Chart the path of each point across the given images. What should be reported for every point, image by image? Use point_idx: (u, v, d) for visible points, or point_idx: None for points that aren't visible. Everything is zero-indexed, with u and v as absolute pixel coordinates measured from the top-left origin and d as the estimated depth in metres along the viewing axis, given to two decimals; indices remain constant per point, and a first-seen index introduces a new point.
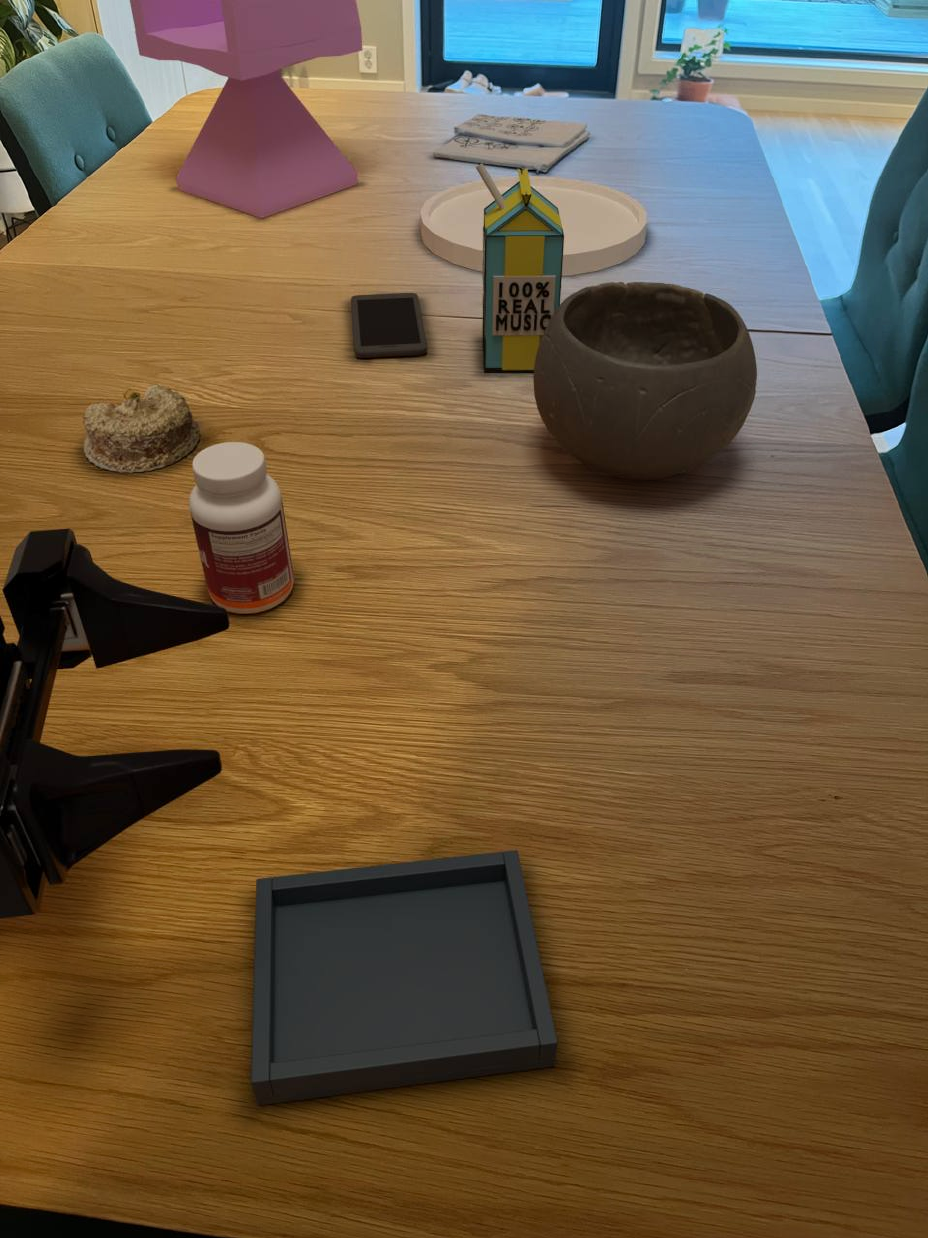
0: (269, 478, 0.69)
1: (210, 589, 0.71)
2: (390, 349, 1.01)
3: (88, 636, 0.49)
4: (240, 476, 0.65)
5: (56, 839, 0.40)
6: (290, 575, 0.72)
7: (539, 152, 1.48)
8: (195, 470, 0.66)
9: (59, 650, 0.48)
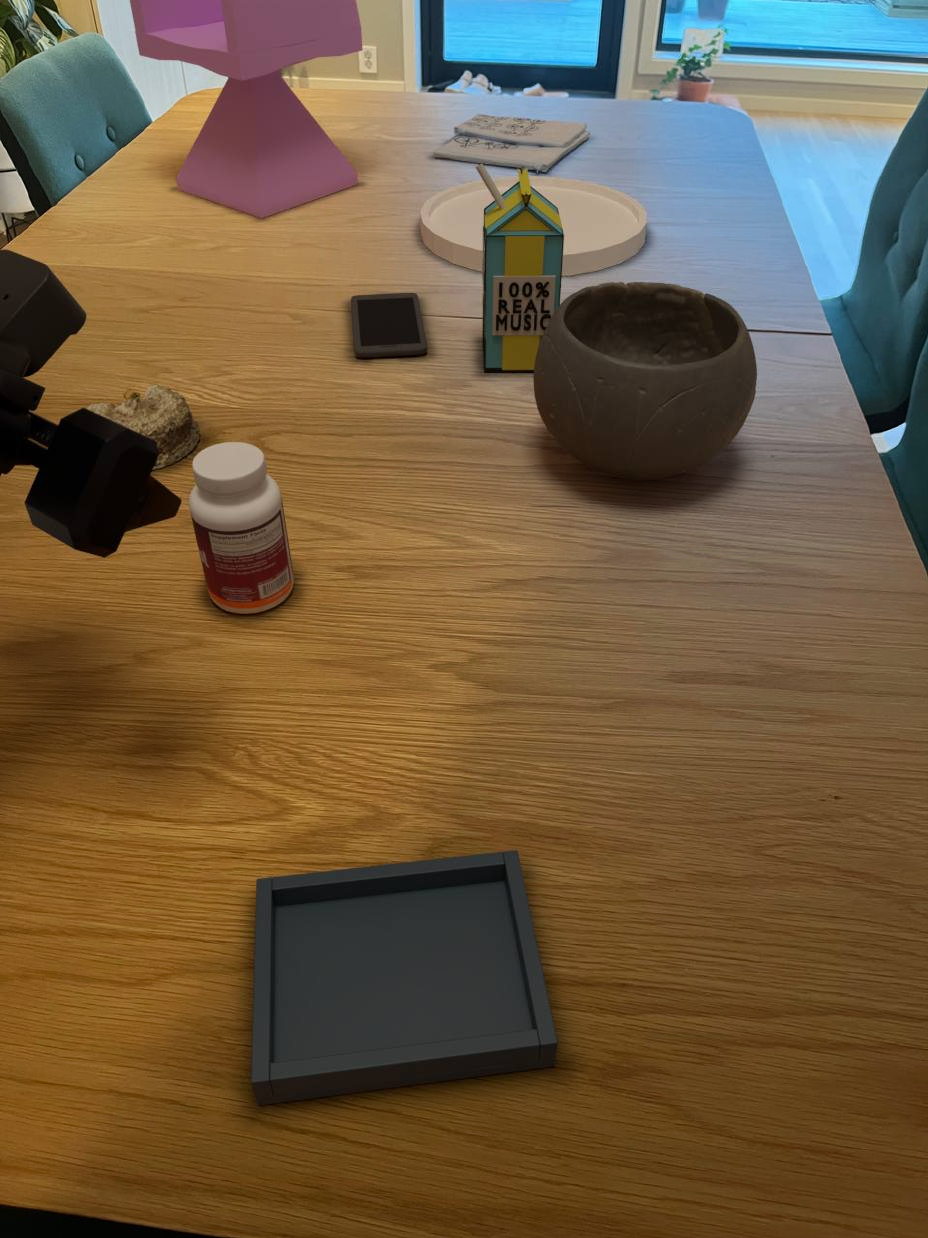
0: (269, 478, 0.69)
1: (210, 589, 0.71)
2: (390, 349, 1.01)
3: None
4: (240, 476, 0.65)
5: None
6: (290, 575, 0.72)
7: (539, 152, 1.48)
8: (195, 470, 0.66)
9: None
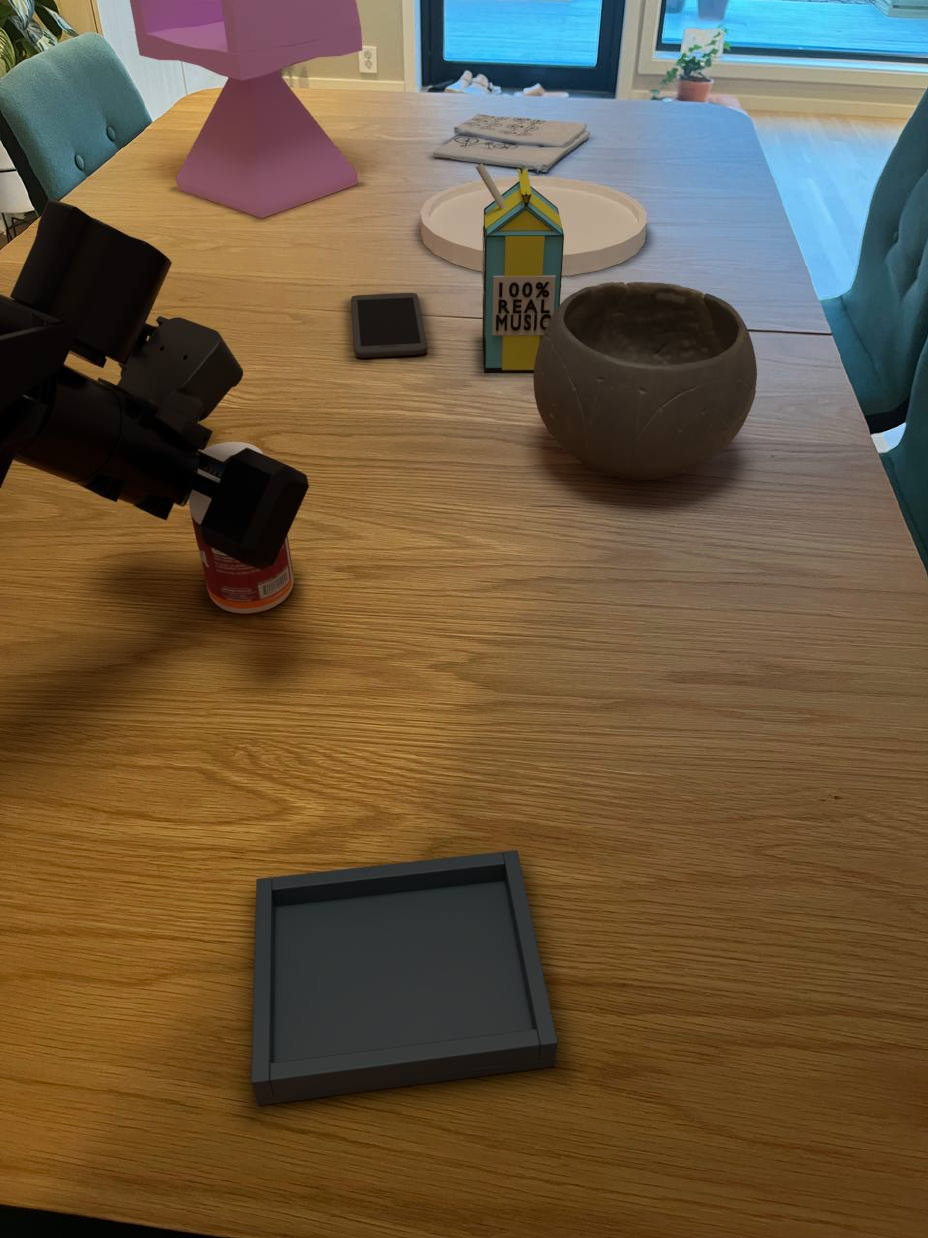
0: None
1: (210, 589, 0.71)
2: (390, 349, 1.01)
3: None
4: None
5: None
6: (290, 575, 0.72)
7: (539, 152, 1.48)
8: None
9: None
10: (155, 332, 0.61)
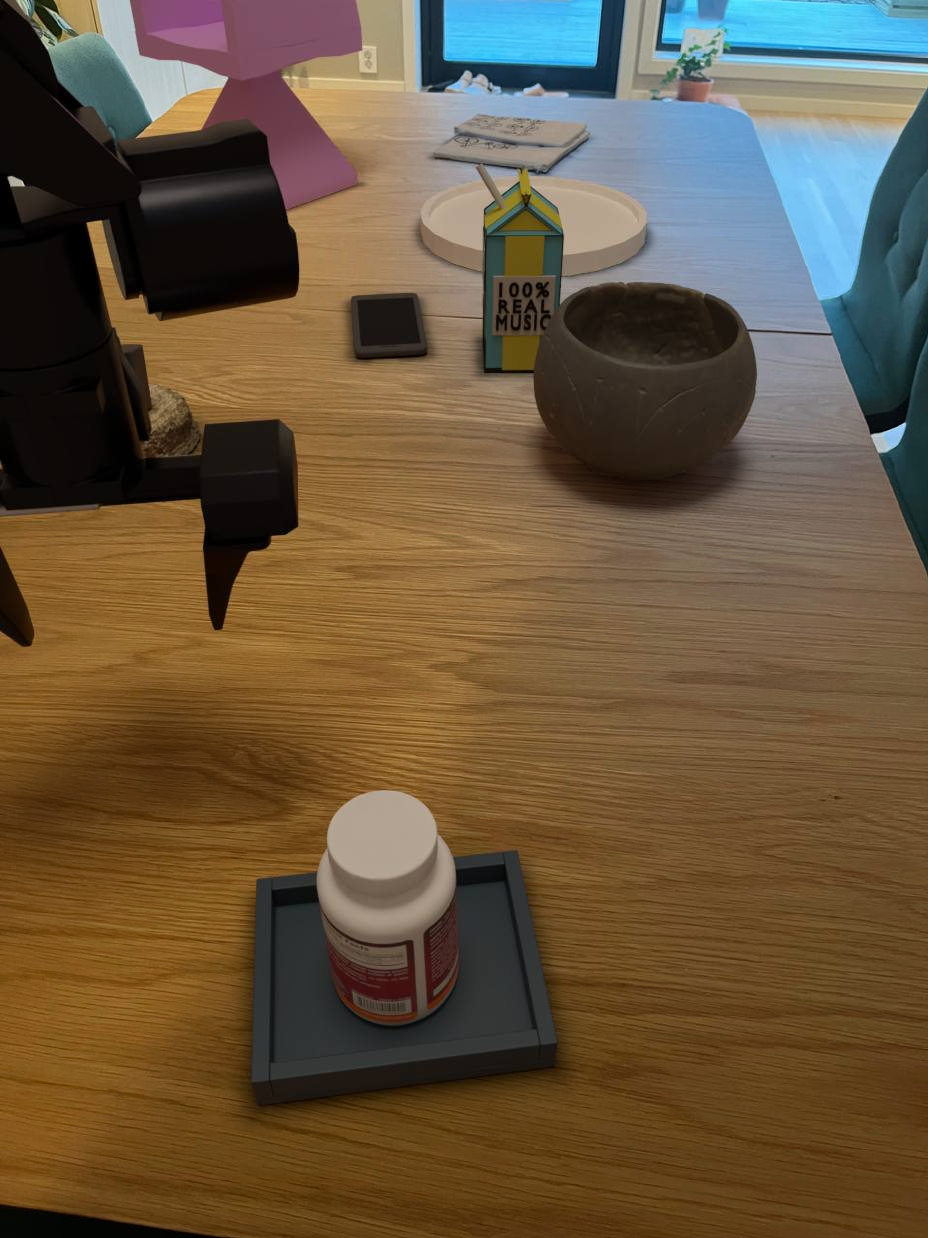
0: (434, 889, 0.43)
1: None
2: (390, 349, 1.01)
3: None
4: (352, 871, 0.41)
5: None
6: (417, 1007, 0.47)
7: (539, 152, 1.48)
8: (335, 814, 0.43)
9: None
10: None
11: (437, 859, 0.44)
